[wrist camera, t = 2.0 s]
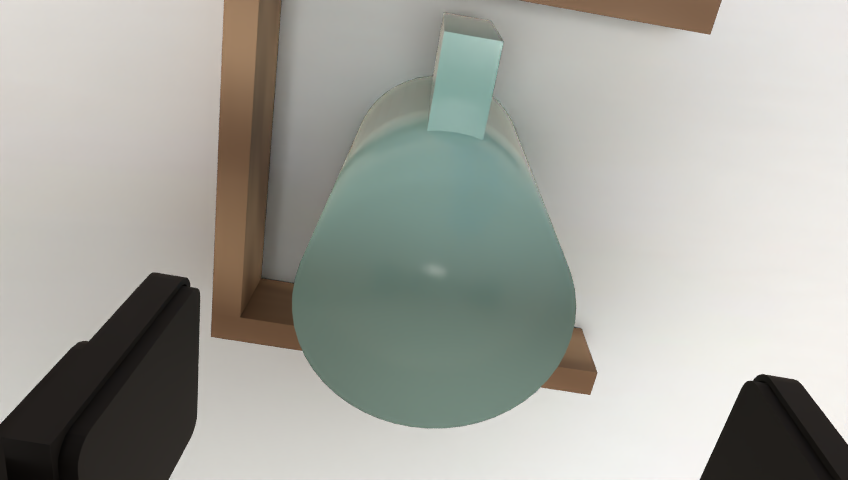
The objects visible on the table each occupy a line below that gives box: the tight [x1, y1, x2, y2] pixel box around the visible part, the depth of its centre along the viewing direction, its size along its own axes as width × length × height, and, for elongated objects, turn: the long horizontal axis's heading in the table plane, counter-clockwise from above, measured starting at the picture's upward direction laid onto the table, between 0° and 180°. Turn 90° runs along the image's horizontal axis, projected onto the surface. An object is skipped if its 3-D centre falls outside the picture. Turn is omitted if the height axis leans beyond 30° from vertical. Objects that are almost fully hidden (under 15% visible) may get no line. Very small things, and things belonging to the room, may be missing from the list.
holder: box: [211, 0, 722, 395], centre depth 23 cm, size 14×14×3 cm
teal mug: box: [292, 12, 576, 428], centre depth 19 cm, size 8×6×11 cm
